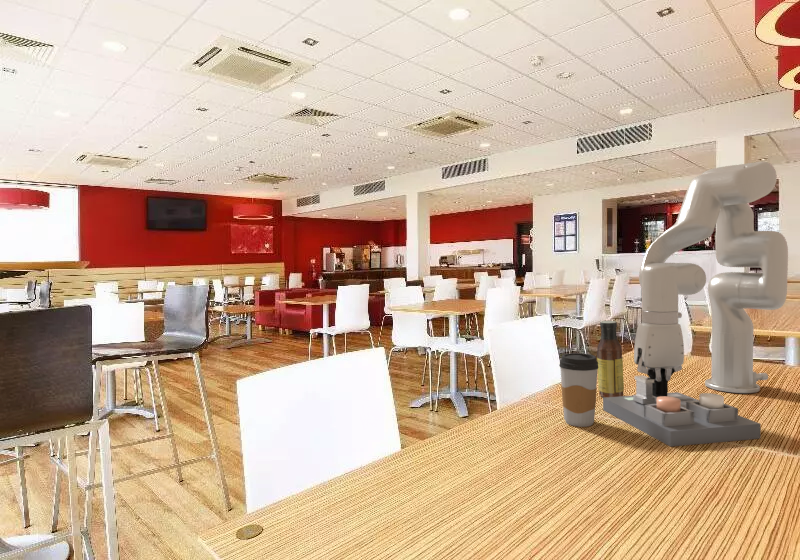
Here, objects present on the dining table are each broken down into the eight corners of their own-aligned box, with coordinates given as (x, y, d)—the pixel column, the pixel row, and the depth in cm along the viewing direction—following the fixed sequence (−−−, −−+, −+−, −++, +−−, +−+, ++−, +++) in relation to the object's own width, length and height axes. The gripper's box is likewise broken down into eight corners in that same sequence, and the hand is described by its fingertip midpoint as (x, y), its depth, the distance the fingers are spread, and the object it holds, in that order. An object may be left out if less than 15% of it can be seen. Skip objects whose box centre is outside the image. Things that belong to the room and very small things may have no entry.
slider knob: (645, 398, 121) (645, 375, 120) (656, 403, 117) (656, 379, 117) (632, 399, 120) (632, 376, 120) (643, 404, 116) (643, 380, 116)
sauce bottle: (619, 393, 137) (619, 319, 136) (627, 399, 131) (627, 323, 130) (594, 393, 138) (594, 320, 137) (601, 399, 132) (600, 323, 131)
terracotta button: (670, 406, 109) (670, 395, 109) (685, 413, 104) (685, 401, 104) (651, 408, 108) (652, 397, 108) (665, 414, 104) (665, 402, 104)
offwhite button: (712, 403, 110) (712, 392, 110) (728, 409, 106) (729, 398, 106) (694, 404, 110) (694, 393, 109) (709, 411, 105) (710, 399, 105)
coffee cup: (600, 418, 117) (599, 353, 116) (597, 430, 110) (597, 361, 109) (562, 414, 121) (561, 351, 120) (557, 425, 113) (556, 358, 112)
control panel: (677, 404, 127) (678, 382, 126) (760, 438, 103) (760, 411, 103) (603, 409, 124) (603, 387, 123) (670, 446, 100) (670, 418, 100)
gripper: (677, 315, 123) (677, 390, 124) (620, 317, 121) (620, 394, 122) (700, 318, 116) (700, 398, 117) (640, 321, 113) (640, 403, 114)
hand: (659, 396), depth 119 cm, fingers closed
